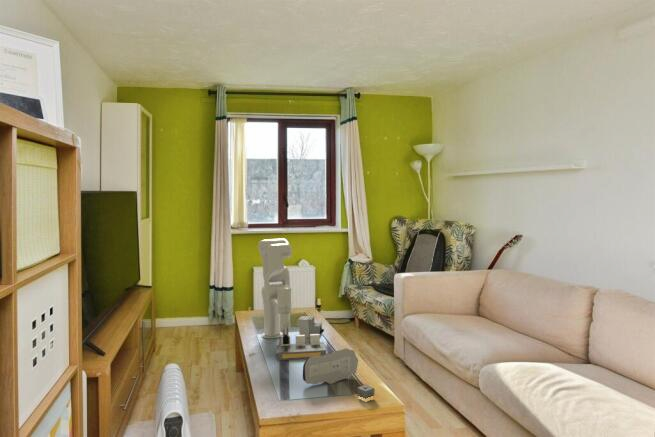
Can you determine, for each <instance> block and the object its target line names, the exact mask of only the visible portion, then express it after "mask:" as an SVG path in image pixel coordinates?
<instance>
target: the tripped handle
mask: <svg viewBox="0 0 655 437" xmlns="http://www.w3.org/2000/svg"><path fill="white" fill-rule="evenodd" d="M288 336H289V344H283V335H282V336H281V337H280V345H281V346H290V344H291V335H289V334H288Z"/></svg>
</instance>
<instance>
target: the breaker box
mask: <svg viewBox="0 0 655 437" xmlns="http://www.w3.org/2000/svg"><path fill="white" fill-rule="evenodd" d="M320 339H321V338H320V335H319V334H310V343H305V335H299V334H296V335H295V343H290V346H281V344H276V361H289V360H290V361H291V360H307V359H308V358H309V357H311V356H322V355H326V354H327V350H326V349H327V348H326V345H325V342H323V341H321V340H320ZM320 341H321V342H320Z"/></svg>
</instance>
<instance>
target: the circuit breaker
mask: <svg viewBox="0 0 655 437" xmlns="http://www.w3.org/2000/svg"><path fill="white" fill-rule="evenodd" d="M297 327H298V330H299V334H298V335H305V343H310V334H319V335H320V339H322V338H321V337H322V336H323V333H324V332H325V329H324V328H323V322H315V316H310V315H307V316H306V315H301V316H299V318H298V319H297Z"/></svg>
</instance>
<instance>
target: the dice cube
mask: <svg viewBox="0 0 655 437" xmlns="http://www.w3.org/2000/svg"><path fill="white" fill-rule="evenodd" d="M374 395H375V388H374V387H372V386H370V385H367V384H364V385H361V386H359V387H357V397H358V396H360V397H363V398H365V399H366V398H368V397H371V396H374Z"/></svg>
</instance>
